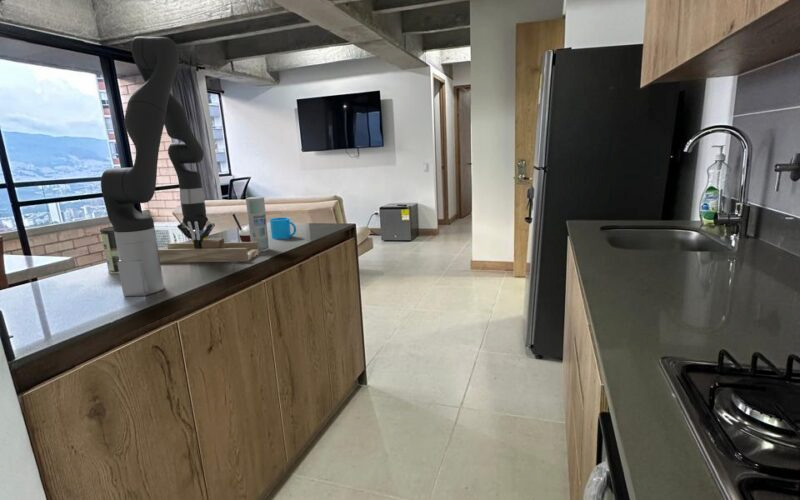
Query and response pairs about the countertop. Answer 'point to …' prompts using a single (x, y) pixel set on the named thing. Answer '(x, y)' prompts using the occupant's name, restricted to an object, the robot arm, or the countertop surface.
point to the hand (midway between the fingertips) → (199, 249)
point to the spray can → (257, 222)
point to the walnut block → (213, 243)
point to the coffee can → (110, 249)
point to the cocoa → (243, 232)
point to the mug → (281, 228)
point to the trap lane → (209, 252)
